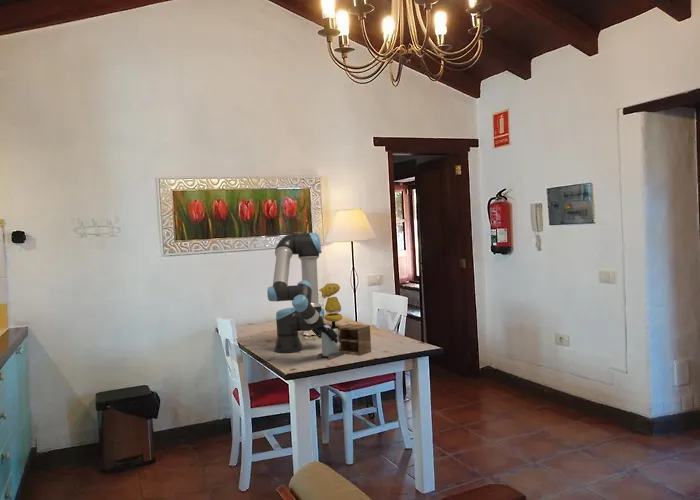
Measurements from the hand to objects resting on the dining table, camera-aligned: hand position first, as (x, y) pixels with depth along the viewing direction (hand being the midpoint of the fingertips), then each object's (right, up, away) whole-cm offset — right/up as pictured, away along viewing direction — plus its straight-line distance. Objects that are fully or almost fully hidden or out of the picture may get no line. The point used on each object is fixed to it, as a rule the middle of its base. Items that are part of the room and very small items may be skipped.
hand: (334, 345), depth 301 cm
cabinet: (+5, -5, -1) cm, 7 cm away
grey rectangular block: (-2, -4, -3) cm, 6 cm away
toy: (-5, -3, +84) cm, 84 cm away
